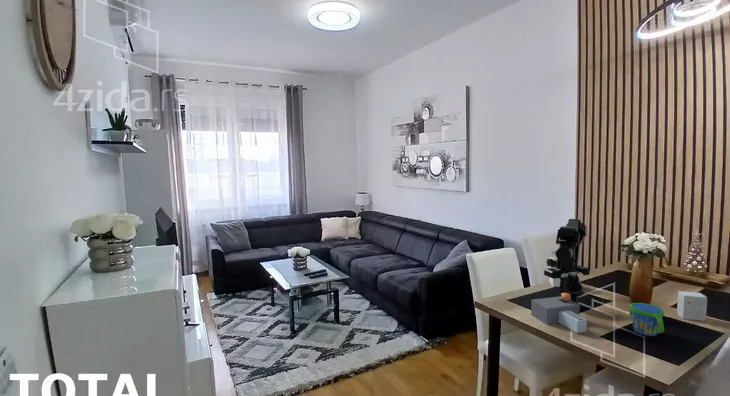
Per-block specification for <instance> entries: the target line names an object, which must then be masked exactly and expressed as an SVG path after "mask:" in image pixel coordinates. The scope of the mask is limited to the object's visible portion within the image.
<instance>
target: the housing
mask: <svg viewBox="0 0 730 396" xmlns="http://www.w3.org/2000/svg"><path fill="white" fill-rule="evenodd" d="M530 304H531V305H530V306H531V309H530V310H531V311H530V315H531V316H532V317H534V318H535V317H536V318H535V319H537V320H539V321H540V322H542V323H543V324H544V325H554V323H555V324H558V323H559V322H558V310H565V309H567V310H569V311H571V312H573V313H575V314H577V315H579V316H580V306H581V305H580V303H579V304H578V303H576V302H573V301H571V300H570V301H568V302H565V301H564V300H562V299H561V296H560V295H559V296H553V297H545V298H535V299H531V303H530Z"/></svg>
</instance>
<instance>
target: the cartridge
mask: <svg viewBox="0 0 730 396" xmlns="http://www.w3.org/2000/svg"><path fill="white" fill-rule="evenodd" d="M558 323H559V324H561V325H562V326H564V327H566V328H568V329H569V330H571V331H573V332H575V333H576V334H578V333H586V332H587V329H588V328H587V327H588V320H587V319H586V317H583V316H581V315H580V314H579V315H577V314H575V313H573V312H571V311H569V310H567V309H565V310H558Z"/></svg>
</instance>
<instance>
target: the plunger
mask: <svg viewBox="0 0 730 396" xmlns="http://www.w3.org/2000/svg"><path fill="white" fill-rule="evenodd" d="M560 295H561V299H562V300H564V301H565V302H568V301H570V300H571V294H569V293H561V294H560Z"/></svg>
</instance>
